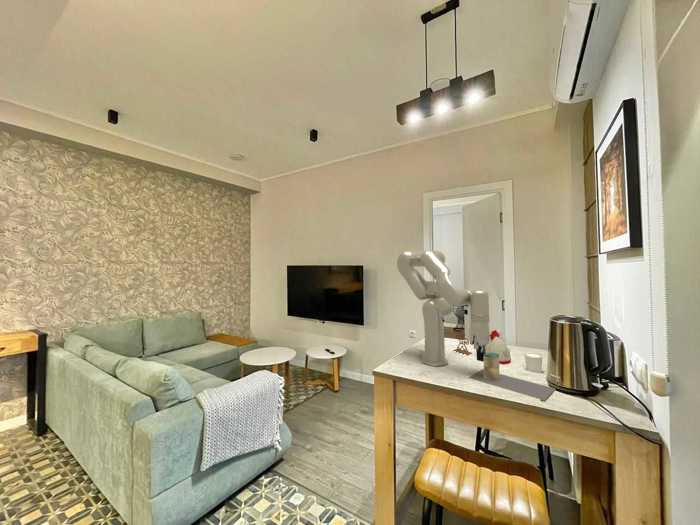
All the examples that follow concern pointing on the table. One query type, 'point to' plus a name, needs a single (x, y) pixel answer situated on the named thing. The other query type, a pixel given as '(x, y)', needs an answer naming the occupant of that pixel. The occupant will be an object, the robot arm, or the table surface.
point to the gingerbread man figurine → (463, 344)
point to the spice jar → (491, 366)
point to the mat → (517, 385)
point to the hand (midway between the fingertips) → (481, 360)
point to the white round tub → (533, 362)
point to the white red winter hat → (498, 348)
